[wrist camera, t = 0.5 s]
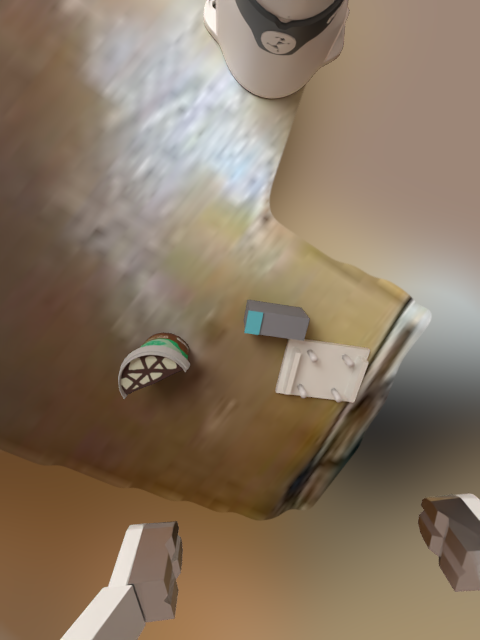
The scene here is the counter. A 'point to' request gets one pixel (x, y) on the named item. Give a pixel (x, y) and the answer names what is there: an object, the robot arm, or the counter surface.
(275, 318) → the block
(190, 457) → the counter surface
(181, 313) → the counter surface
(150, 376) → the food container
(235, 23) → the robot arm
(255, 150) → the counter surface
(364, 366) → the pin tray
